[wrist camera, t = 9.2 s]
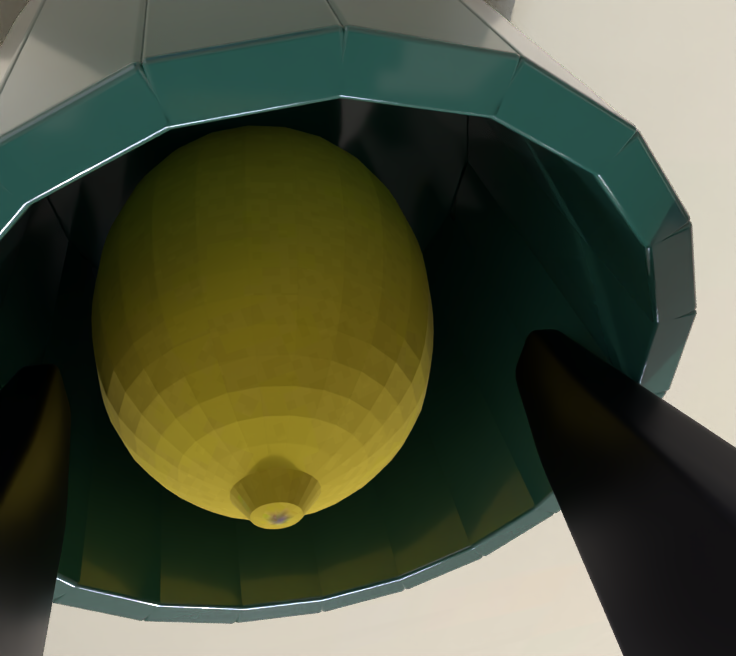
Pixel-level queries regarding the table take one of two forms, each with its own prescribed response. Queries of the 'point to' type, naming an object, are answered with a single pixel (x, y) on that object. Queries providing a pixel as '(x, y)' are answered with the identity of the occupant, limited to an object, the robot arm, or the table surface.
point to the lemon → (262, 324)
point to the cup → (428, 222)
